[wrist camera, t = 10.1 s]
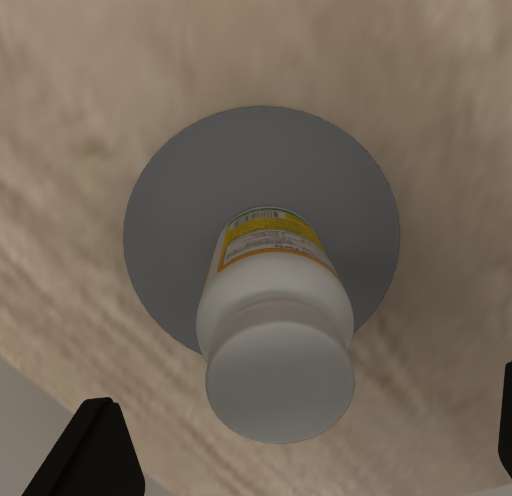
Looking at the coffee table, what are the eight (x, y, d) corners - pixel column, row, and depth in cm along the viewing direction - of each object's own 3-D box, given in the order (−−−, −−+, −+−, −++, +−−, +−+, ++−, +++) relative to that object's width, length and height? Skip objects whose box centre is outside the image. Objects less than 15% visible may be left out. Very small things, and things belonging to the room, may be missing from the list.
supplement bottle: (254, 182, 17) (258, 254, 8) (341, 243, 18) (427, 365, 9) (194, 267, 19) (141, 407, 10) (278, 319, 20) (299, 489, 11)
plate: (388, 84, 17) (398, 82, 16) (393, 337, 22) (401, 349, 21) (97, 131, 18) (86, 132, 16) (165, 367, 22) (160, 381, 21)
